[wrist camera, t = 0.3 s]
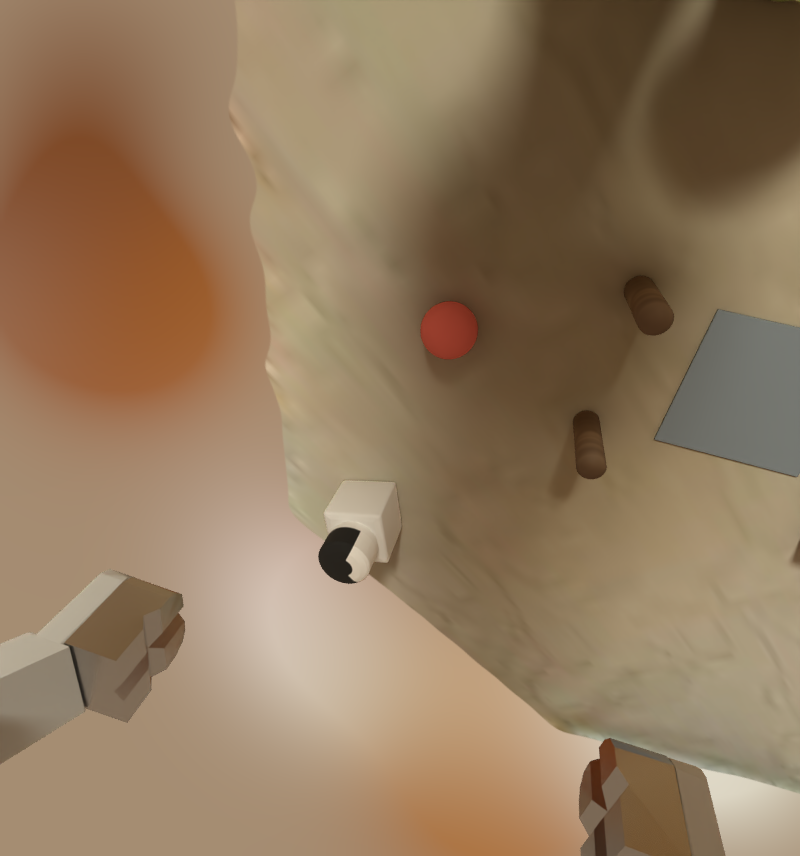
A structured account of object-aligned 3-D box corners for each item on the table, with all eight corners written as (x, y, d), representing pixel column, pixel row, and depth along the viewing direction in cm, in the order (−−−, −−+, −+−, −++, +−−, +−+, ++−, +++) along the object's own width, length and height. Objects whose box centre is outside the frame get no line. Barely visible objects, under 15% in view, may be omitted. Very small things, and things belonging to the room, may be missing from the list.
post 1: (577, 407, 55) (581, 451, 48) (603, 414, 55) (611, 459, 47) (569, 428, 57) (572, 474, 49) (594, 435, 56) (600, 482, 49)
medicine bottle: (351, 523, 71) (317, 588, 61) (342, 478, 68) (305, 539, 58) (402, 526, 69) (376, 594, 59) (396, 480, 66) (367, 544, 56)
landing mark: (717, 309, 48) (718, 309, 47) (885, 347, 46) (886, 347, 46) (654, 438, 55) (654, 439, 55) (796, 475, 53) (797, 476, 53)
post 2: (630, 273, 48) (644, 299, 40) (659, 279, 48) (679, 306, 40) (619, 300, 49) (631, 331, 42) (647, 307, 49) (665, 338, 41)
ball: (432, 289, 53) (420, 304, 48) (487, 302, 52) (480, 318, 48) (422, 340, 56) (410, 359, 51) (473, 353, 55) (466, 374, 51)
